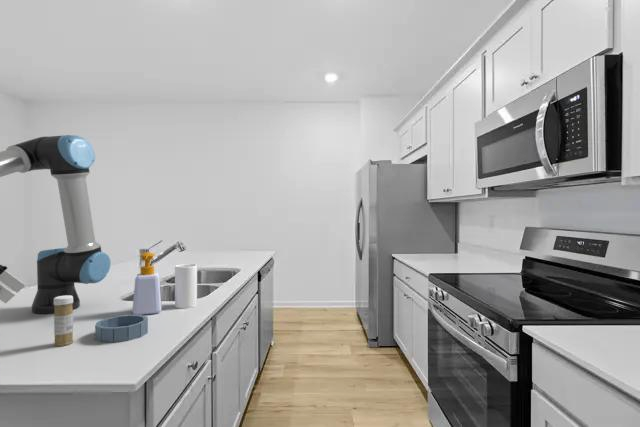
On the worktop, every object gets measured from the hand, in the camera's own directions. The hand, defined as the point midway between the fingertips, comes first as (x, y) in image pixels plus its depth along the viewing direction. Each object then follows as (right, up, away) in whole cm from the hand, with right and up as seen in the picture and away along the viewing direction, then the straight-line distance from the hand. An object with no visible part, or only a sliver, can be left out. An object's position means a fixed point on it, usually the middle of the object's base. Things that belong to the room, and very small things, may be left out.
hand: (16, 293), depth 101 cm
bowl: (+21, -15, +14) cm, 30 cm away
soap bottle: (+18, -15, +37) cm, 44 cm away
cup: (+29, -15, +48) cm, 58 cm away
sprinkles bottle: (+9, -16, +5) cm, 19 cm away
